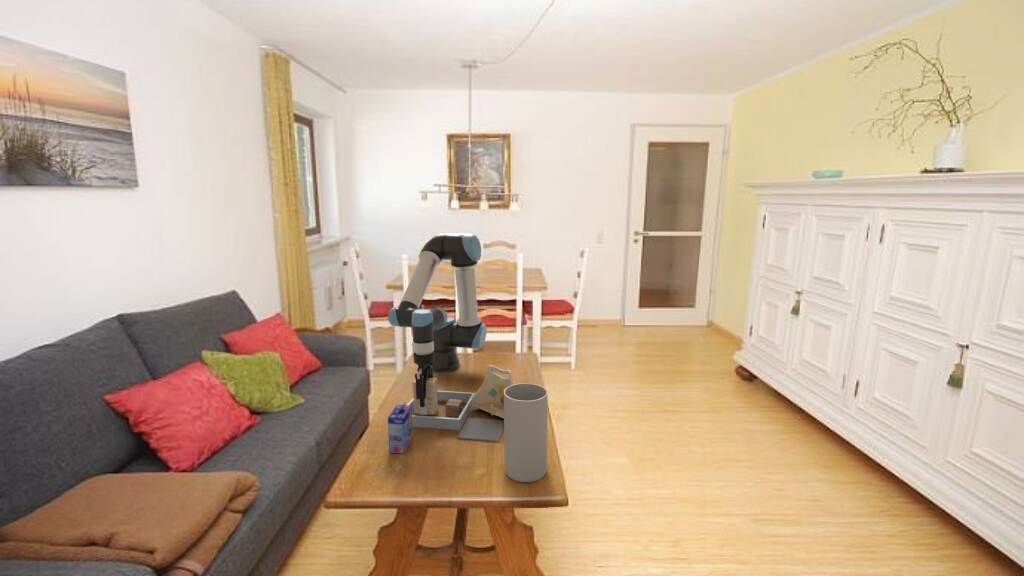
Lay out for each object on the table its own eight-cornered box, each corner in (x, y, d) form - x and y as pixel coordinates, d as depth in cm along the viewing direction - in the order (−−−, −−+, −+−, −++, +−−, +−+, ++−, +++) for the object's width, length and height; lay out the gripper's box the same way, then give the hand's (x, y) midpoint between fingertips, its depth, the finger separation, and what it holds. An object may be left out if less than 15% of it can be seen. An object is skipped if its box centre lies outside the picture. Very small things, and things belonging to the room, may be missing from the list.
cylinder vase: (533, 488, 129) (534, 405, 124) (496, 474, 135) (495, 394, 130) (553, 467, 139) (555, 388, 134) (518, 455, 146) (518, 380, 141)
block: (449, 411, 176) (449, 399, 175) (462, 412, 175) (462, 399, 174) (446, 417, 171) (445, 404, 170) (459, 418, 170) (458, 405, 169)
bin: (420, 398, 187) (420, 389, 186) (475, 402, 183) (475, 392, 182) (398, 425, 165) (397, 415, 164) (460, 430, 161) (459, 419, 160)
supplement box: (438, 410, 177) (437, 377, 174) (435, 415, 172) (434, 382, 169) (417, 409, 177) (415, 376, 175) (413, 414, 173) (412, 381, 170)
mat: (468, 419, 169) (467, 418, 169) (505, 422, 167) (505, 420, 167) (457, 438, 156) (457, 437, 156) (498, 442, 153) (498, 440, 153)
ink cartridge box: (405, 454, 146) (403, 411, 144) (388, 453, 147) (385, 411, 144) (413, 438, 156) (411, 398, 153) (397, 437, 156) (395, 397, 154)
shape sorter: (529, 417, 170) (529, 370, 167) (509, 426, 162) (509, 378, 160) (491, 402, 183) (491, 359, 181) (471, 410, 176) (471, 365, 173)
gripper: (422, 343, 179) (424, 399, 184) (404, 359, 162) (407, 421, 166) (440, 344, 178) (442, 401, 183) (425, 360, 161) (427, 422, 165)
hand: (426, 410), depth 175 cm, fingers closed on supplement box, 5 cm apart
